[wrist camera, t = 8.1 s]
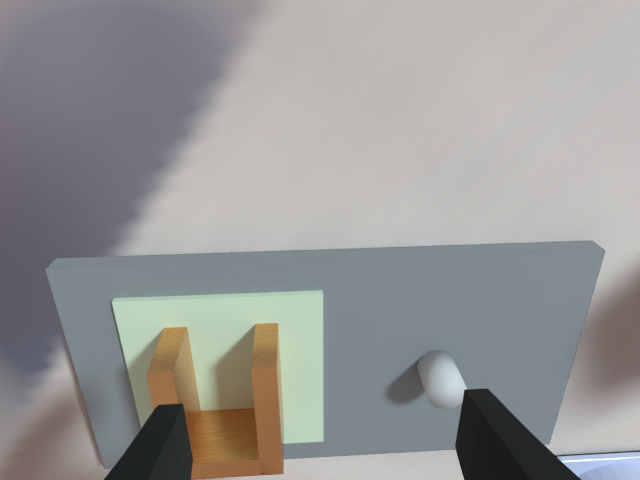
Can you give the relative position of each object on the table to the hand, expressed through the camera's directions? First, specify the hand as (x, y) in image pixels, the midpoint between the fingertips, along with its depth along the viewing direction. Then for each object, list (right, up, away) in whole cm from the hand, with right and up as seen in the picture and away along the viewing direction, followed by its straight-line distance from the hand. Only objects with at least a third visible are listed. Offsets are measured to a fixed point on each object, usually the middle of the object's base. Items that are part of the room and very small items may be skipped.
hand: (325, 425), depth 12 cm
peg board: (0, -1, +12) cm, 12 cm away
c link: (-5, -2, +10) cm, 11 cm away
